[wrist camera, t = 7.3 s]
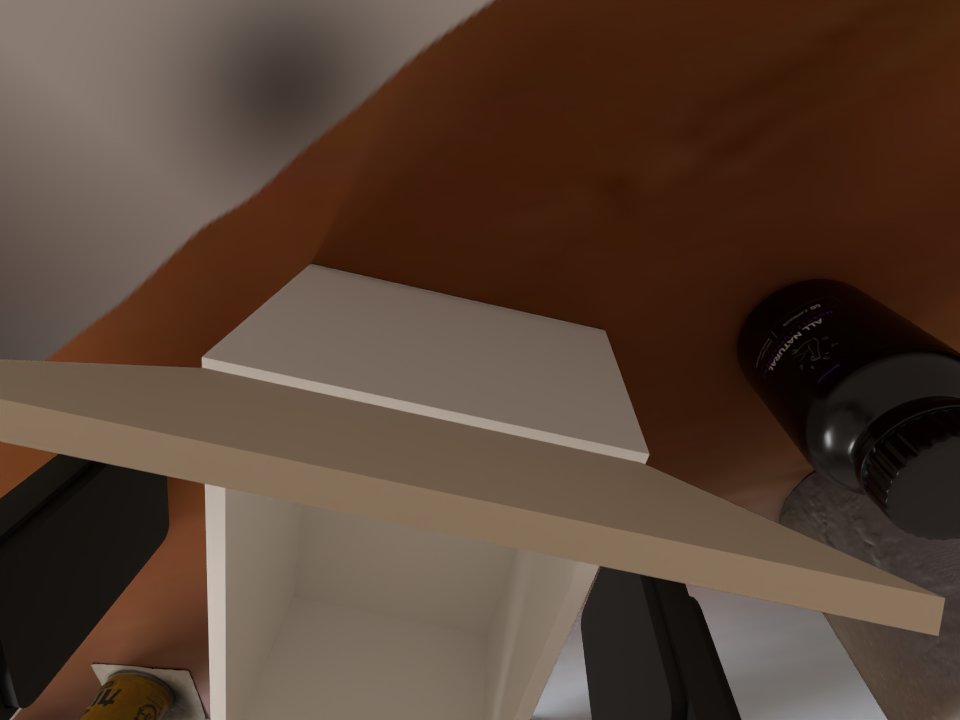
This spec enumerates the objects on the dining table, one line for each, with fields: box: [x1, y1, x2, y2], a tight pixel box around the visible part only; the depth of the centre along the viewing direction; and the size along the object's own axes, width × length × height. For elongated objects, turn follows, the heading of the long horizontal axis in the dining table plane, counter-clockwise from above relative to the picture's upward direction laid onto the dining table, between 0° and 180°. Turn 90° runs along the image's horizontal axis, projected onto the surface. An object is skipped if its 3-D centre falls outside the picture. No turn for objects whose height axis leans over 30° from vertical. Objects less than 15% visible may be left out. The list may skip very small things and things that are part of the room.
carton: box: [202, 264, 650, 720], centre depth 30 cm, size 16×26×11 cm, turn 168°
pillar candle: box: [779, 472, 960, 720], centre depth 27 cm, size 10×10×15 cm
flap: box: [0, 360, 945, 636], centre depth 13 cm, size 15×12×1 cm
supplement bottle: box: [737, 279, 960, 540], centre depth 23 cm, size 7×7×12 cm
